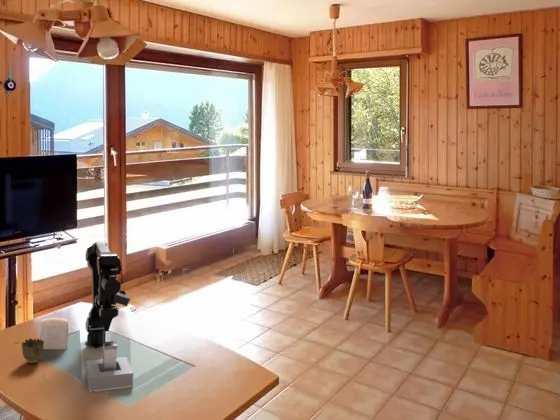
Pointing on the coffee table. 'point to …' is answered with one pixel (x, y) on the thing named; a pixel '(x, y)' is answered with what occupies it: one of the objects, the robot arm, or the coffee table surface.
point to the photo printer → (54, 333)
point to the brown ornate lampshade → (32, 350)
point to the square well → (108, 375)
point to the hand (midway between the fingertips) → (105, 327)
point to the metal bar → (109, 356)
